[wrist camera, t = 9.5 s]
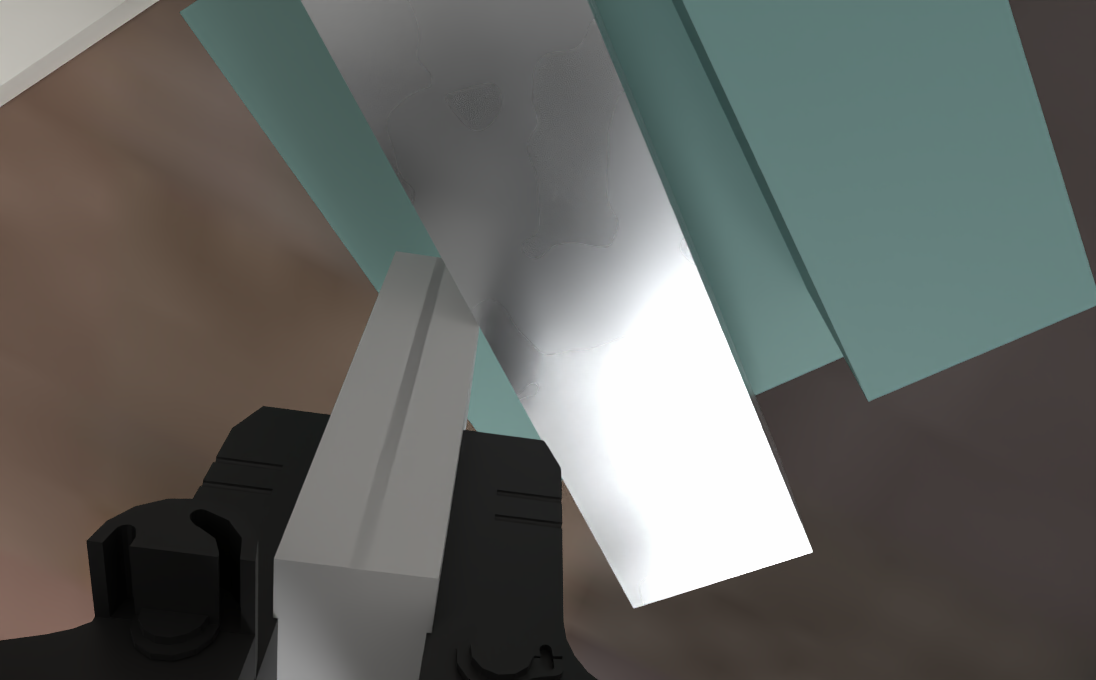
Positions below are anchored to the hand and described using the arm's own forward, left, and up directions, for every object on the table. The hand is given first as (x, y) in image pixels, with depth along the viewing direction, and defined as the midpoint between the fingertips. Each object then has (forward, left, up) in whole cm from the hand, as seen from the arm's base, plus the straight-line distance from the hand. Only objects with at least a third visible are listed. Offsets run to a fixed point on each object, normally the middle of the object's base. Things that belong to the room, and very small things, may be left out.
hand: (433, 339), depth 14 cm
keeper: (+1, -4, -4) cm, 5 cm away
